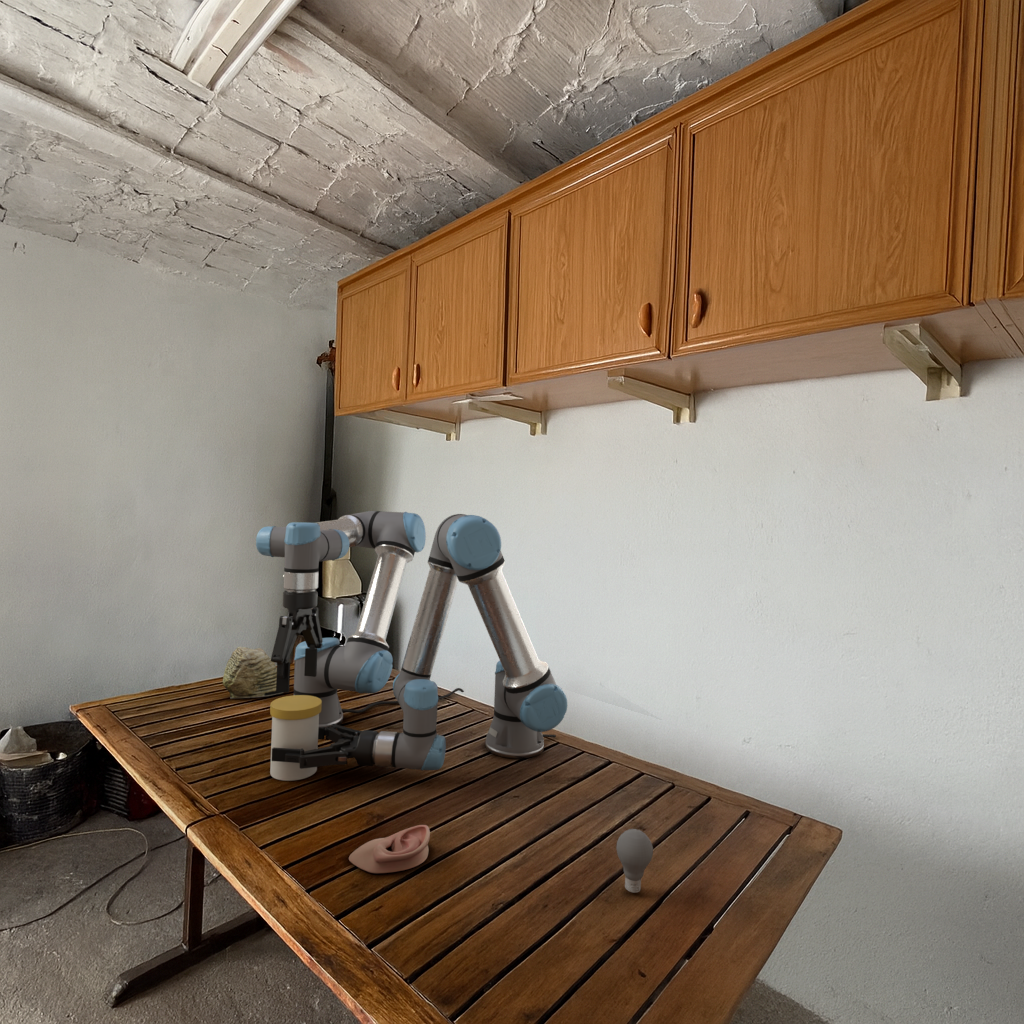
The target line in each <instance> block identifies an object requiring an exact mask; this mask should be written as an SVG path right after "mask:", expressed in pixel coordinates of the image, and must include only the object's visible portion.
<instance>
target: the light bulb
mask: <svg viewBox="0 0 1024 1024" xmlns="http://www.w3.org/2000/svg"><path fill="white" fill-rule="evenodd" d="M615 849H616V854H617V857H618V859H619V861H620V863H621V865H622V867H623V873H624V874H623V875H624V876H625V878H624V888H625V890H627V891H628V892H630V893H634V894H635V893H639V892H640V891H641V889H642V887H641V886H642V879H643V877H644V875H645V871H646V868H647V867H648V866H649V864H650V863H651V861H652V859H653V855H654V847H653V843H652V841H651V838H649V836H648V835H647V834H646V833H645V832H643V831H642V830H641V829H636V828H629V829H627V830H625V831H623V832H622V833H621V834H620V835H619V837H618V839H617V841H616V847H615Z"/></svg>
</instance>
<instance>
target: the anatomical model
mask: <svg viewBox="0 0 1024 1024" xmlns="http://www.w3.org/2000/svg"><path fill="white" fill-rule="evenodd" d="M430 838H431V830H430V827H429V826H428V825H427V824H419V825H413V826H411V827H409V828H405V829H403V830H400V831H398V832H396V833H393V834H391V835H389V836H386V837H379V838H375V839H372V840H369V841H367V842H365V843H364V844H362V845H360V846H358V848H356V849H355V850H353V852H352V853H350V855H349V857H348V860H349V862H350V863H351V864H352V865H354V866H356V867H357V868H358V869H361V870H363V871H365V872H367V873H369V874H370V873H371V874H387V873H388V874H389V873H396V872H401V871H405V870H409V869H412V868H415V867H418V866H419V865H421V864H422V863H425V861H426V860H427V859H428V856H429V842H430Z"/></svg>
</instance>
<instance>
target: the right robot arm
mask: <svg viewBox="0 0 1024 1024" xmlns="http://www.w3.org/2000/svg"><path fill="white" fill-rule="evenodd" d="M505 564H506V561H505V557H504V556H503V553H502V538H501V535H500V532H499V530H498V529H497V527H496V526H495V525H494V524H493V523H492V522H491V521H489V520H488V519H487V518H484V517H482V516H480V515H476V514H464V513H455V514H452V515H450V516H448V517H446V518H445V519H443V520H442V521H441V523H440V524H439V525H438V526H437V528H436V531H435V533H434V537H433V539H432V544H431V547H430V552H429V556H428V559H427V565H428V567H429V570H428V574H427V577H426V581H425V585H424V588H423V592H422V595H421V599H420V602H419V606H418V608H417V612H416V616H415V619H414V622H413V627H412V630H411V633H410V637H409V640H408V644H407V647H406V650H405V653H404V658H403V661H402V664H401V668H400V671H399V673H398V674H397V675H396V676H395V678H394V680H393V682H392V691H393V696H394V698H395V699H396V701H398V702H399V706H400V708H401V710H402V712H403V713H402V714H403V717H402V718H403V722H402V723H403V724H402V732H398V731H387V730H386V731H385V730H381V731H380V732H378V731H377V730H367V729H365V730H359V729H358V730H357V729H353V728H351V727H347V726H344V725H341V724H340V725H337V724H331V727H330V726H327V727H326V728H325V727H318V740H325V741H331V742H333V743H331V744H330V745H329V746H323V747H318V749H313V750H308V751H304V749H303V748H302V749H289V748H275V747H273V748H272V761H278V762H292V763H300V768H301V769H304V768H312V767H317V768H319V767H327V766H328V767H329V766H336V765H337V766H346V765H348V759H354V760H355V762H356V765H358V766H363V767H373V766H376V767H381V768H386V769H387V770H389V769H391V768H393V769H407V770H417V771H418V770H419V771H439V770H441V769H442V767H443V765H444V764H445V758H446V749H447V741H446V737H445V736H444V735H442V734H439V733H438V731H437V725H438V724H437V723H438V704H439V700H438V697H439V690H438V688H439V687H438V684H437V683H436V682H435V680H431V677H432V673H433V669H434V666H435V663H436V659H437V655H438V652H439V649H440V645H441V641H442V638H443V635H444V631H445V628H446V625H447V621H448V618H449V614H450V611H451V607H452V604H453V600H454V597H455V593H456V590H457V586H458V583H461V584H464V585H466V586H467V587H468V589H469V591H470V594H471V596H472V598H473V601H474V603H475V605H476V608H477V610H478V613H479V615H480V618H481V619H482V621H483V624H484V627H485V630H486V631H487V634H488V636H489V639H490V640H491V643H492V646H493V648H494V650H495V652H496V655H497V657H498V659H499V660H498V661H497V662H496V664H495V672H494V696H493V698H494V700H493V718H492V720H491V723H490V726H489V729H488V731H487V733H486V737H485V749H486V750H487V751H488V752H489V753H491V754H492V755H494V756H498V757H501V758H506V759H528V758H534V757H537V756H539V755H540V754H542V753H543V752H544V750H545V740H544V738H555V739H556V738H557V735H556V734H548V733H547V734H545V732H548V731H551V730H553V729H554V728H556V727H558V725H559V724H561V722H562V721H563V720H564V718H565V715H566V713H567V711H568V705H569V704H568V698H567V694H566V693H565V691H564V690H563V688H562V687H560V685H558V684H557V683H556V681H555V678H554V675H553V673H552V671H551V669H550V666H549V664H548V663H547V662H546V661H544V660H542V659H539V657H538V654H537V652H536V649H535V647H534V644H533V642H532V640H531V637H530V634H529V633H528V630H527V628H526V625H525V623H524V621H523V617H522V616H521V613H520V611H519V608H518V606H517V603H516V601H515V598H514V597H513V593H512V591H511V589H510V587H509V585H508V582H507V580H506V577H505V575H504V572H503V569H504V566H505Z"/></svg>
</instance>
